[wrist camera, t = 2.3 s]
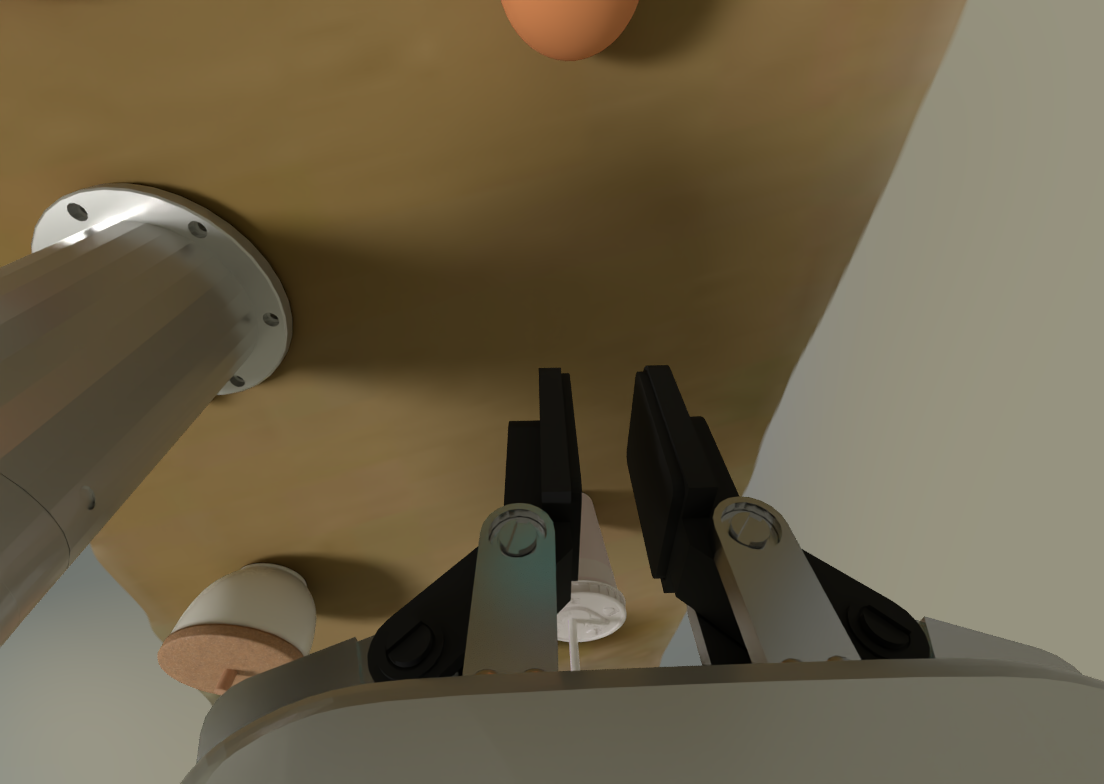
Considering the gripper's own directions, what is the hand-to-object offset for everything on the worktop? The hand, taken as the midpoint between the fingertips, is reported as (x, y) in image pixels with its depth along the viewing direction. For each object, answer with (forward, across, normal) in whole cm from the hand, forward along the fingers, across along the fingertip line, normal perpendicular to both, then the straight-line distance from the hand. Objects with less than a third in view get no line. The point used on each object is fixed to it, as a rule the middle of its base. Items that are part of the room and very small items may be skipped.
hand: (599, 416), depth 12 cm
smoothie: (+17, -1, +24) cm, 29 cm away
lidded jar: (+17, +27, +33) cm, 46 cm away
